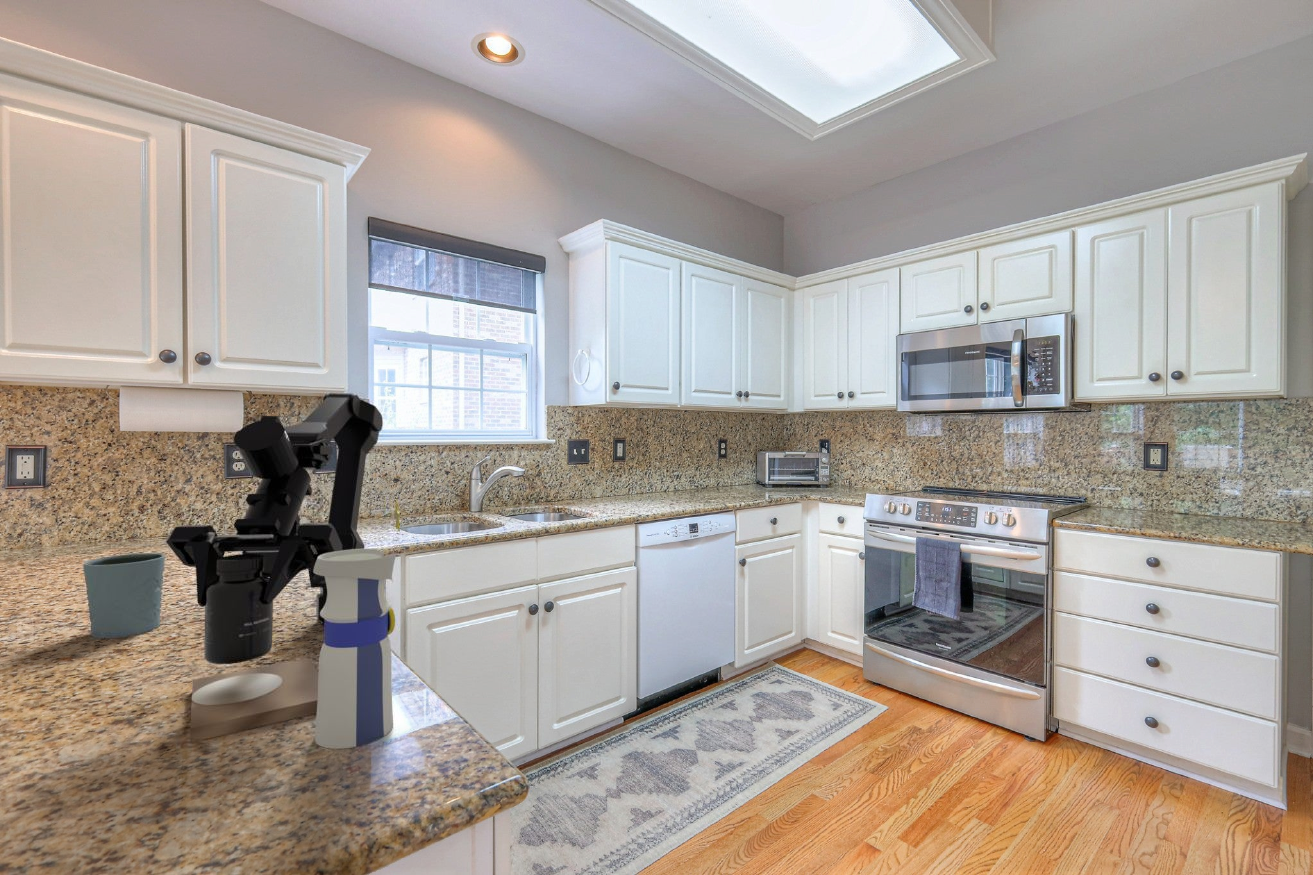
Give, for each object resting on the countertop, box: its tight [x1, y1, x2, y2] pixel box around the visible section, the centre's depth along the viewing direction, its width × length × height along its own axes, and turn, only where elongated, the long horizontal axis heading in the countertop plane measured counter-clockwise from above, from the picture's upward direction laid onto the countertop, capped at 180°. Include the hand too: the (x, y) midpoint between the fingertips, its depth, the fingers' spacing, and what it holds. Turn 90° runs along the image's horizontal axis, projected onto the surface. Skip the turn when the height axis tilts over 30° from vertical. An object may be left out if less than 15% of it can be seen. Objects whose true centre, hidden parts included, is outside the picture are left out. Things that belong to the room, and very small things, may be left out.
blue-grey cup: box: [82, 552, 166, 640], centre depth 99 cm, size 10×10×12 cm
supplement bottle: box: [203, 553, 274, 665], centre depth 73 cm, size 7×7×12 cm
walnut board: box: [189, 657, 318, 744], centre depth 73 cm, size 13×16×2 cm
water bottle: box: [313, 501, 401, 750], centre depth 66 cm, size 8×9×25 cm
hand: (233, 603), depth 72 cm, fingers closed on supplement bottle, 7 cm apart
